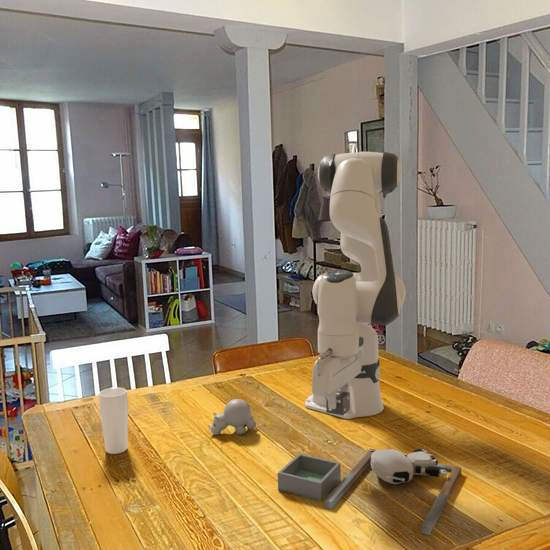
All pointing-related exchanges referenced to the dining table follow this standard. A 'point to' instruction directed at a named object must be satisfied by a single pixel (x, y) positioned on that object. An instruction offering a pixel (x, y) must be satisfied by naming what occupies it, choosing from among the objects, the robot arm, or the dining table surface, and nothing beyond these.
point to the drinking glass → (114, 419)
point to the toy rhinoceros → (233, 418)
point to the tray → (309, 477)
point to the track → (434, 510)
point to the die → (340, 403)
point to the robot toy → (404, 465)
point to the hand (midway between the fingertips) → (338, 404)
